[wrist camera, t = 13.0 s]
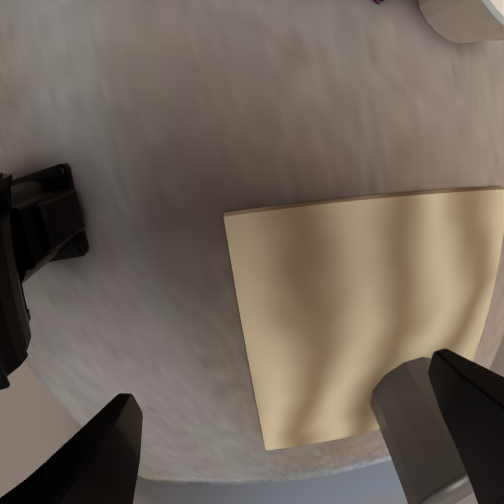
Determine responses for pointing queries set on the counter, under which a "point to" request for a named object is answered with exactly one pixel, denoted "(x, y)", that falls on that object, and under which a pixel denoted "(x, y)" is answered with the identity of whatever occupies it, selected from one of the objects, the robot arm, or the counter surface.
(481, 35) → the off-white short cylinder
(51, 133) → the counter surface
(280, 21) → the counter surface
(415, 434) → the grey cylinder
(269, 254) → the birch board
